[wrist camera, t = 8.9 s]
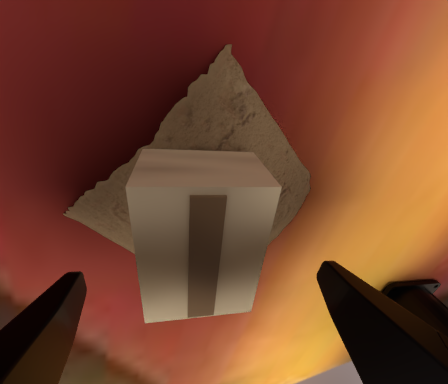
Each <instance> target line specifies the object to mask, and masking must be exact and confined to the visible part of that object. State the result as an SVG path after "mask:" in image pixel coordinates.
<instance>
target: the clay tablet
mask: <svg viewBox="0 0 448 384" xmlns="http://www.w3.org/2000/svg"><path fill="white" fill-rule="evenodd" d="M231 48H232V44H228V45H225V48H224V49H223V50H222V51H221V52H220V53H219V54H218V56H217V58H216V59H215V62H214V63H212V64H210V66H209V71H208V74H201V75H200V76H199V78H198V79H197V80H196V81H194V82H192V83H191V84H190V85H189V87H188V95H187V97H184V98H183V99H181V100H180V101H179V102H178V103H176V104H175V106H174V107H173V108H172V109H171V111H170V112H169V113H168V114H167V116H166V117H165V119H164V120H163V121H162V122H161V123H160V128H159V131H158V132H157V133H156V134H155V138H154V141H153V142H152V143H151V144H150V145H147V146H143V147H142V148H140V149H138V150H137V152H136V155H135V156H134V157H133V158H132V159H131V160H130V161H129V162H128V163H126V164H123V165H122V166H121V167H118V168H117V169H116V170H115V171H113V173H112V174H111V176H110V177H109V179H108V180H106V181H99V182H97V184H96V186H95V188H94V189H92V190H88V191H86V192H85V194H84V196H80V198H79V199H78V201H76V203H74V204H75V205H74V206H73V207H68V210H70V211H66V213H67V214H65V213H63V215H64V216H66V217H69V218H71V219H74V220H76V221H79V222H81V223H82V224H84V225H86V226H87V227H89V228H91V229H93V230H95V231H96V232H98V233H100V234H101V235H103V236H104V237H106V238H108V239H110V240H111V241H113V242H115V243H117V244H119V245H120V246H122V247H124V248H126V249H127V250H129V251H130V252H132V253H134V254H135V250H134V243H133V236H132V229H131V222H130V215H129V208H128V201H127V194H126V185H127V182H128V180H129V178H130V176H131V174H132V171H133V169H134V167H135V165H136V162H137V160H138V158H139V156H140V154H141V151H142V149H173V150H203V151H234V152H254V154H255V155H256V156H257V157H258V159H259V160H260V161H261V162H262V163H263V165H264V166H265V167H266V168H267V170H268V171H269V172H270V173H271V174H272V176H273V177H274V178H275V179H276V181H277V182H278V183H279V184H280V185H281V187H282V188H281V193H280V197H279V201H278V205H277V209H276V213H275V217H274V221H273V225H272V229H271V233H270V237H269V241H268V245H269V244H270V243H271V241H272V240H274V239H275V238H276V237H277V236H278V235H279V234H280V233H281V231H282V230H283V229H284V228H285V227H286V226H287V225H288V224H289V223H290V222H291V221H292V219H293V218H294V216H295V215H296V214H297V212H298V210H299V209H300V207H301V205H302V203H303V202H304V201H305V198H306V195H307V194H308V193H309V191H310V189H311V188H310V185H309V181H310V177H311V175H310V173H309V171H308V170H307V169H306V167H305V166H304V165H303V164H302V163H301V162H300V160H299V159H298V157H297V155H296V153H295V152H294V150H293V149H292V147H291V146H290V145H289V143H288V141H287V139H286V137H285V136H284V134H283V133H282V131H281V129H280V128H279V126H278V124H277V123H276V122H275V120H274V119H273V118H272V116H271V115H270V113H269V112H268V110H267V109H266V107H265V106H264V104H263V102H262V101H261V99H260V98H259V96H258V94H257V92H256V91H255V90H254V89H253V88H252V87H251V86H250V85H249V84H248V82H247V81H246V79H245V76H244V73H243V70H242V68H241V66H240V65H239V63H238V62H237V61H236V59H235V58H234V57H233V56H232V54H231Z"/></svg>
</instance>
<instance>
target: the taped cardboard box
mask: <svg viewBox="0 0 448 384" xmlns="http://www.w3.org/2000/svg"><path fill="white" fill-rule="evenodd" d="M281 188H282V187H281V185H280V184H279V183H278V182H277V181H276V179H275V178H274V177H273V176H272V174H271V173H270V172H269V171H268V170H267V168H266V167H265V166H264V165H263V163H262V162H261V161H260V160H259V159H258V157H257V156H256V155H255V154H254V152H234V151H203V150H173V149H142V151H141V154H140V156H139V158H138V160H137V162H136V165H135V167H134V169H133V171H132V174H131V176H130V178H129V180H128V182H127V185H126V194H127V201H128V208H129V215H130V222H131V229H132V236H133V243H134V250H135V257H136V264H137V271H138V278H139V285H140V292H141V299H142V306H143V313H144V320H145V323H151V322H161V321H170V320H179V319H188V318H197V317H206V316H215V315H224V314H233V313H242V312H251V309H252V305H253V301H254V297H255V293H256V289H257V285H258V281H259V277H260V273H261V269H262V265H263V261H264V257H265V253H266V249H267V245H268V241H269V237H270V233H271V229H272V225H273V221H274V217H275V213H276V209H277V205H278V201H279V197H280V193H281Z"/></svg>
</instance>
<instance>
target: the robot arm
mask: <svg viewBox="0 0 448 384" xmlns="http://www.w3.org/2000/svg"><path fill="white" fill-rule="evenodd" d="M317 281H318V284H319V286H320V289H321V292H322V294H323V297H324V300H325V302H326V305H327V308H328V310H329V313H330V315H331V318H332V320H333V322H334V324H335V326H336V328H337V330H338V333H339V335H340V337H341V339H342V341H343V343H344V345H345V347H346V349H347V351H348V353H349V355H350V357H351V360H352V362H353V364H354V366H355V368H356V370H357V372H358V374H359V376H360V378H361V380H362V382H363V384H448V308H447V307H446V306H445V305H444V304H443V303H442V302H441V301H440V300H439V299H438V298H437V297H435V296H434V295H433V293H434V292H435V291H436V290H437V288H438V287H439V286H440V285H441V284H440V283H439V282H438V281H437V280H430V281H416V282H403V283H392V284H390V285H388V286H387V287H386V289H385V290H384V291H383V293H381V292H379V291H378V290H376V289H375V288H373V287H372V286H370V285H369V284H368V283H366V282H365V281H363V280H362V279H360V278H359V277H357V276H356V275H354V274H353V273H351V272H350V271H348V270H347V269H345V268H344V267H342V266H341V265H339V264H338V263H336V262H335V261H324V262H323V263H322V265H321V267H320V269H319V271H318V273H317ZM86 292H87V288H86V283H85V279H84V276H83V273H82V272H80V271H79V272H68V273H66V274H64V275H63V276H62V277H61V278H60V279H59V280H58V281H56V282H55V283H54V284H53V285H52V286H51V287H49V288H48V289H47V290H46V291H45V292H44V293H43V294H41V295H40V296H39V297H38V298H37V299H36V300H35V301H33V302H32V303H31V304H30V305H29V306H28V307H26V308H25V309H24V310H23V311H22V312H21V313H20V314H18V315H17V316H16V317H15V318H14V319H13V320H11V321H10V322H9V323H8V324H7V325H6V326H5V327H3V328H2V329H1V330H0V384H58V383H59V380H60V378H61V375H62V372H63V370H64V367H65V364H66V362H67V359H68V356H69V354H70V351H71V348H72V345H73V342H74V338H75V335H76V331H77V327H78V323H79V320H80V316H81V312H82V308H83V304H84V301H85V297H86Z"/></svg>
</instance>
